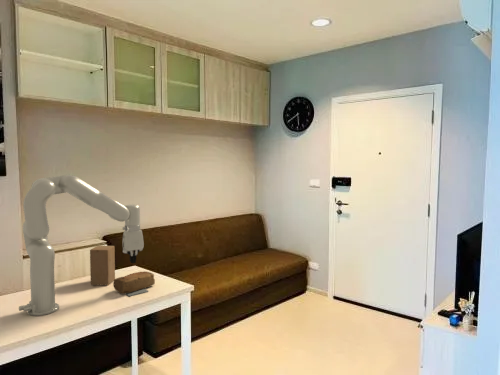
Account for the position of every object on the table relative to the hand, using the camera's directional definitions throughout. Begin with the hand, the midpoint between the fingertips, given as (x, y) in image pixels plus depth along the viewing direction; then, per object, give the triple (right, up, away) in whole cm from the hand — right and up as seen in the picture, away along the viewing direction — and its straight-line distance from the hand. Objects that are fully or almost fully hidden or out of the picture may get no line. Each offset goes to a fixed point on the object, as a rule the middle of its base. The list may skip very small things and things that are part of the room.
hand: (133, 262), depth 192 cm
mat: (0, -15, +1) cm, 15 cm away
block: (-6, -11, -5) cm, 14 cm away
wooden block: (-21, -14, +13) cm, 28 cm away
